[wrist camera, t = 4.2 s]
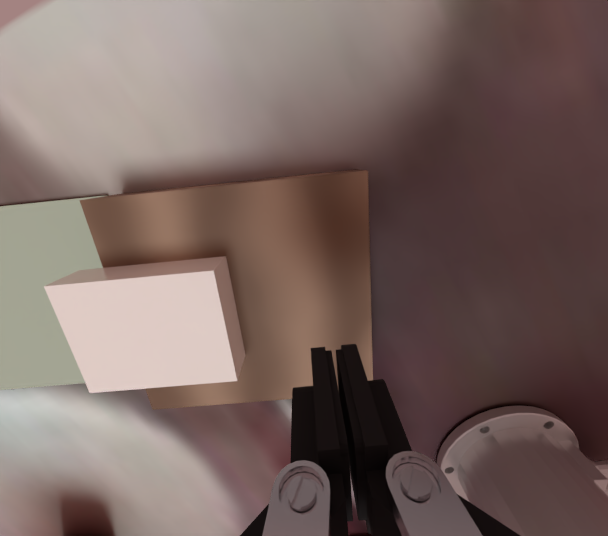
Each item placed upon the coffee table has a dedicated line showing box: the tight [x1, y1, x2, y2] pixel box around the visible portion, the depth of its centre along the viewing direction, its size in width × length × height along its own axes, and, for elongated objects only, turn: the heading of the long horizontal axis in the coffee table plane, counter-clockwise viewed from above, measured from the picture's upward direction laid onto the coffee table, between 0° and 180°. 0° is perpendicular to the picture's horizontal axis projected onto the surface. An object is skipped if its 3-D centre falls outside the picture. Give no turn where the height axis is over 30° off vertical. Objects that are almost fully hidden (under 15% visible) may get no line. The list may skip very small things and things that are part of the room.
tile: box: [44, 256, 245, 393], centre depth 17 cm, size 9×7×2 cm
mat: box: [0, 195, 108, 390], centre depth 22 cm, size 15×15×1 cm
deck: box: [79, 170, 373, 410], centre depth 20 cm, size 16×15×4 cm
